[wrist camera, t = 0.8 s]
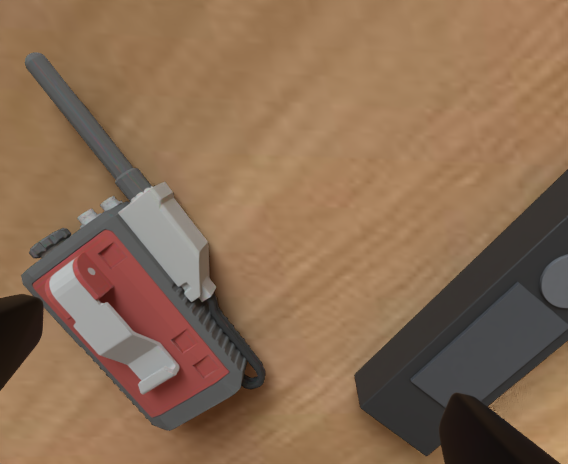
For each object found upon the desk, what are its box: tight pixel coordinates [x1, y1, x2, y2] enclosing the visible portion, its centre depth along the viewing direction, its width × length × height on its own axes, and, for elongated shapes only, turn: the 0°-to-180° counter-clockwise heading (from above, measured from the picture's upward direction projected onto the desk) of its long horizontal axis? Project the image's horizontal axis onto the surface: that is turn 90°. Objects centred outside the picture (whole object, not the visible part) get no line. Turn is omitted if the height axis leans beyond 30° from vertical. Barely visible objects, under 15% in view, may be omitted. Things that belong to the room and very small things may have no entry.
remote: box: [354, 170, 568, 456], centre depth 20 cm, size 18×5×3 cm, turn 141°
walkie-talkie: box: [21, 53, 265, 431], centre depth 20 cm, size 9×4×20 cm
